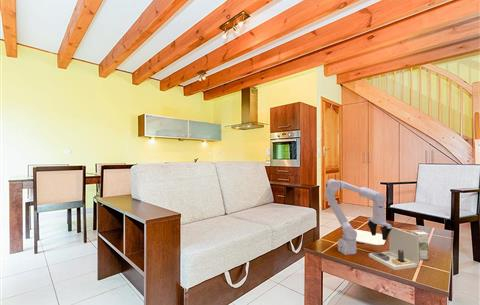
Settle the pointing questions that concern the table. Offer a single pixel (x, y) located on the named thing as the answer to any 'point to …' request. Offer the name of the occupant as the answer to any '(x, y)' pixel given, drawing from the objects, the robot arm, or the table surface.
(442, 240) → the table surface
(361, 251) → the table surface
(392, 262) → the equipment case
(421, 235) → the syrup box
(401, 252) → the rod
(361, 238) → the plate
